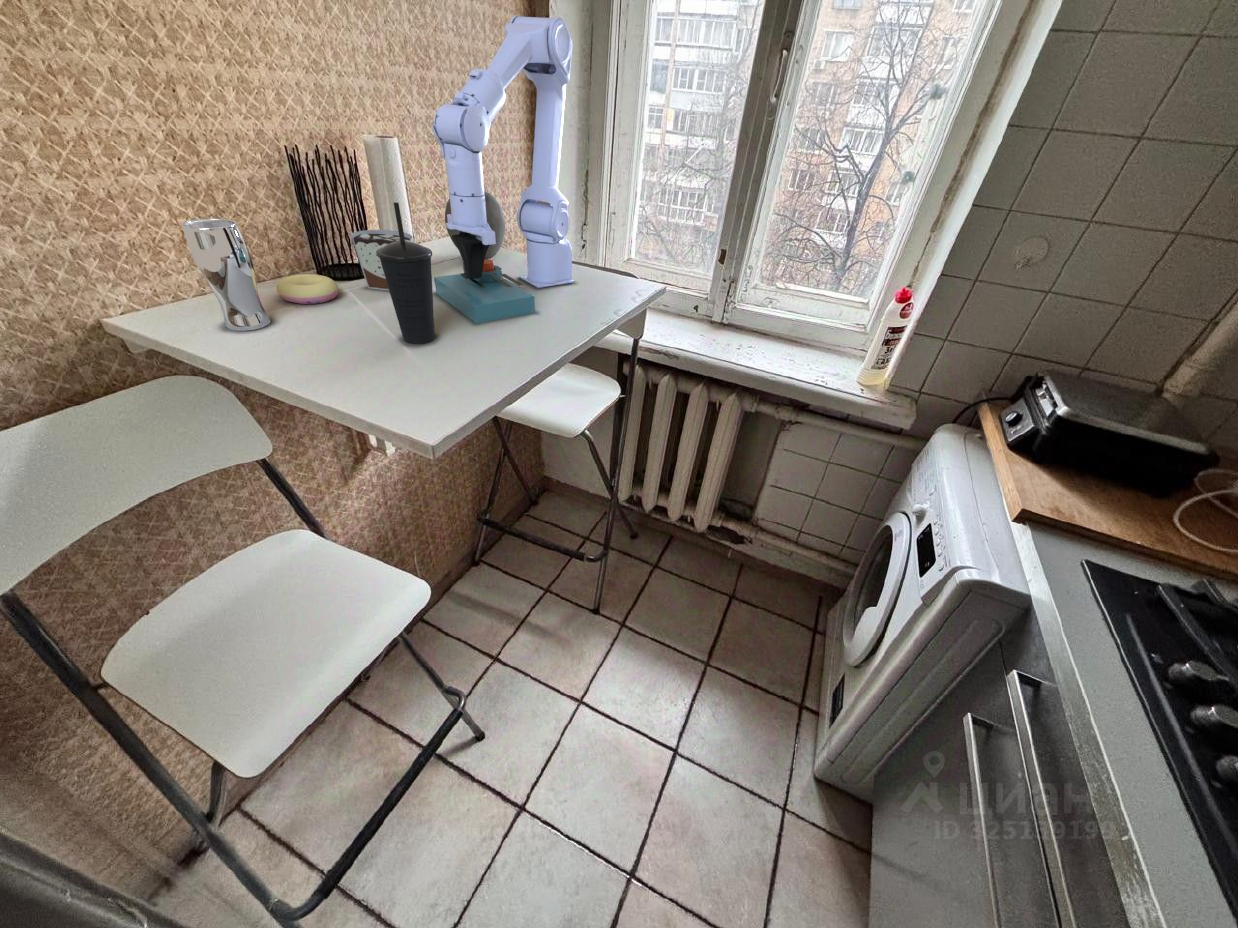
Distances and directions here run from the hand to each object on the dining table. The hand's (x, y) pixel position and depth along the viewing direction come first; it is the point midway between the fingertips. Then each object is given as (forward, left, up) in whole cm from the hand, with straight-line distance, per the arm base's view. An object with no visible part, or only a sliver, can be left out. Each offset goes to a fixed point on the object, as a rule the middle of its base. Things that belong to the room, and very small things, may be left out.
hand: (475, 277), depth 89 cm
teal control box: (-2, -2, -6) cm, 7 cm away
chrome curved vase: (+36, -9, -6) cm, 37 cm away
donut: (+25, -18, -6) cm, 31 cm away
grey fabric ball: (-15, -31, -6) cm, 35 cm away
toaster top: (-3, 0, -1) cm, 3 cm away
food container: (+9, -18, -6) cm, 21 cm away
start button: (-6, -7, -1) cm, 9 cm away
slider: (0, -2, -1) cm, 2 cm away
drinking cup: (+15, +9, -6) cm, 18 cm away
